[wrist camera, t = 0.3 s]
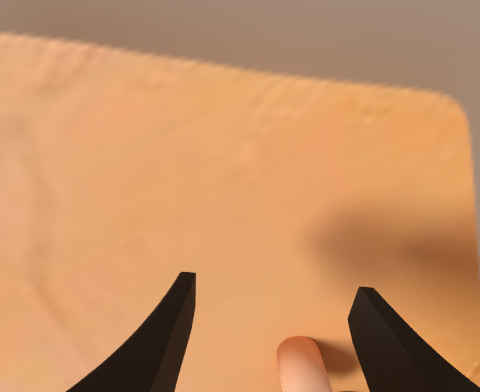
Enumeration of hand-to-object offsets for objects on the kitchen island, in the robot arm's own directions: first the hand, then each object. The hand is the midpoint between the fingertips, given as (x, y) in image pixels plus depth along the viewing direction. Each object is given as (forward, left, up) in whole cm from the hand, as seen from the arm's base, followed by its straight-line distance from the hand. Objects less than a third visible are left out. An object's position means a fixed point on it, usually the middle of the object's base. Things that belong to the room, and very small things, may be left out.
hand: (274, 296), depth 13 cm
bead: (-6, -14, -11) cm, 19 cm away
